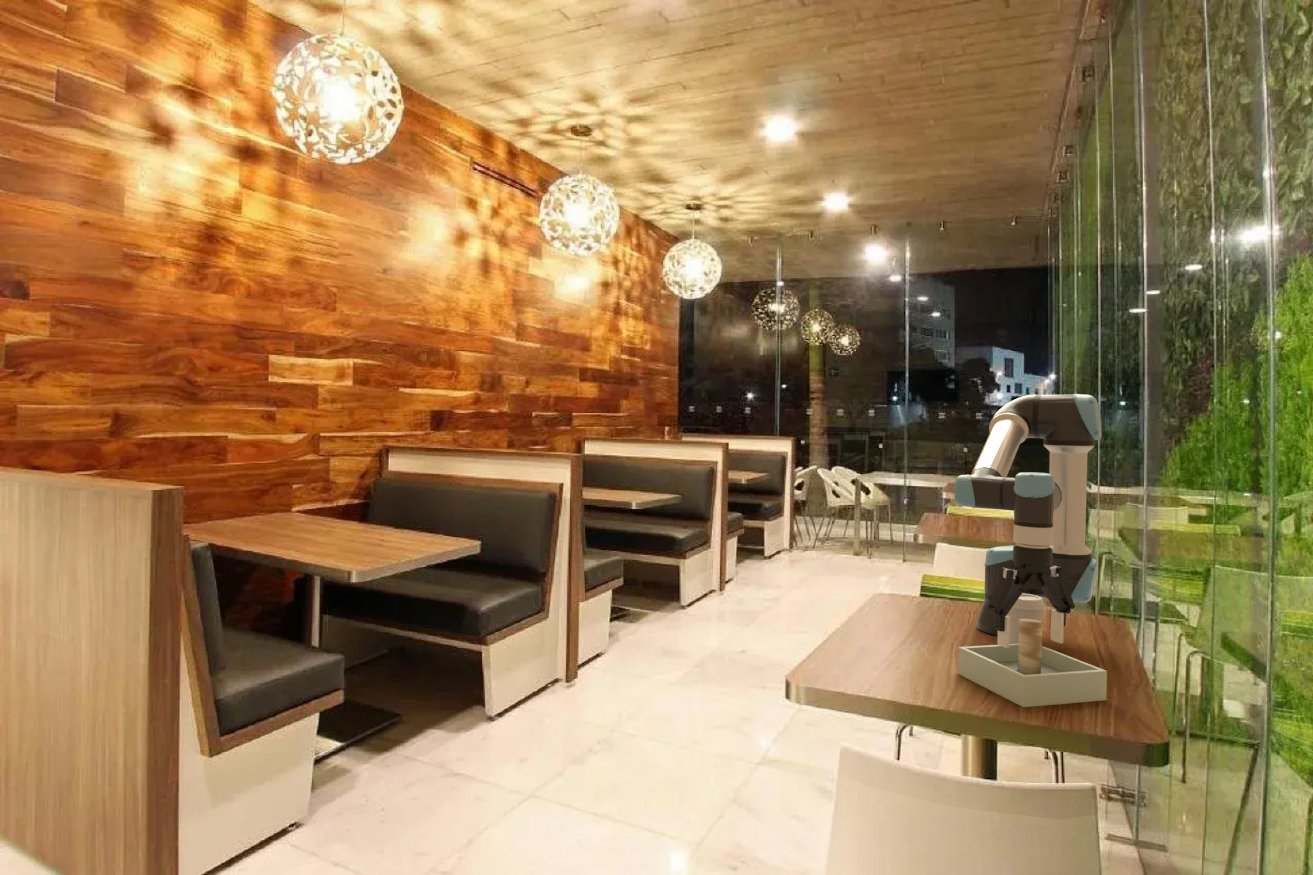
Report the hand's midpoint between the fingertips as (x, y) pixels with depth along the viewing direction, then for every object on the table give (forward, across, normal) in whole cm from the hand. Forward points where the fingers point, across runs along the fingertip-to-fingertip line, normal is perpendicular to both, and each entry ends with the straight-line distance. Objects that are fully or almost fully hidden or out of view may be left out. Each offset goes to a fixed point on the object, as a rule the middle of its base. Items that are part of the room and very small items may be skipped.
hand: (1030, 643), depth 157 cm
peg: (+9, +1, +1) cm, 9 cm away
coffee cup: (+10, -12, -16) cm, 23 cm away
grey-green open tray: (+9, +1, 0) cm, 9 cm away
